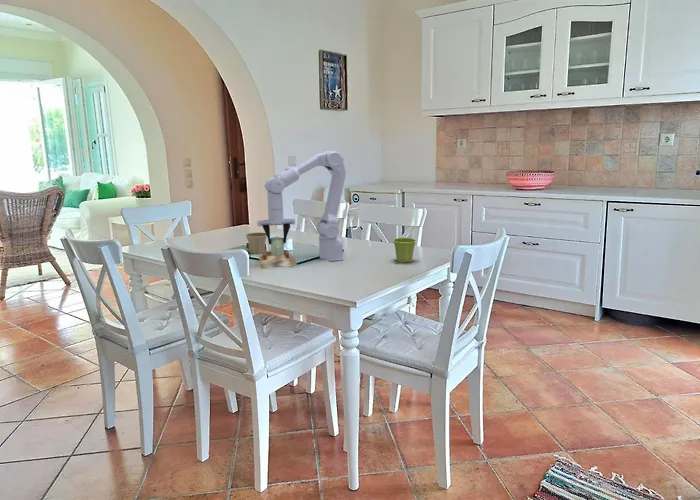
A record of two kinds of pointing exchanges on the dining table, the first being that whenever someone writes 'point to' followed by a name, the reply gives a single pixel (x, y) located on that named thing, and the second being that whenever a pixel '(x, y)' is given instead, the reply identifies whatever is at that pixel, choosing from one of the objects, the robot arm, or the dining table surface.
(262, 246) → the flower pot
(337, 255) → the robot arm
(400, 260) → the plant pot
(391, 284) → the dining table surface
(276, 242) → the sage green cylinder
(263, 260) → the board
